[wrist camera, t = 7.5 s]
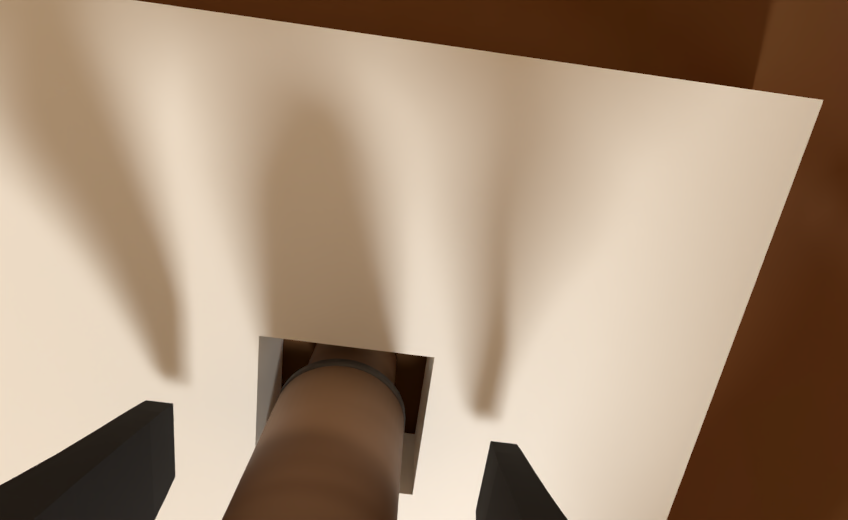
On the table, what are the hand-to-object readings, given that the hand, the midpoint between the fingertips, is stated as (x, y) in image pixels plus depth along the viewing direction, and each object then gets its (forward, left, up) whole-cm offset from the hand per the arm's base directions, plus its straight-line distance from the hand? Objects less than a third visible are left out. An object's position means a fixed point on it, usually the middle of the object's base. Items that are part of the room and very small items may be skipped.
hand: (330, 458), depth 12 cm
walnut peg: (0, 0, -4) cm, 4 cm away
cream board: (0, 0, -4) cm, 4 cm away
